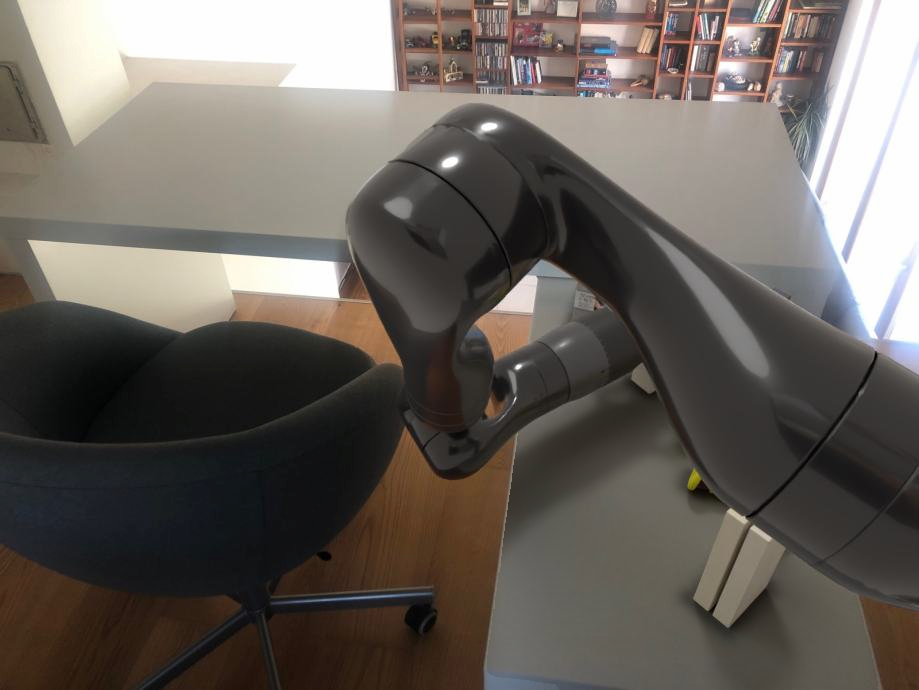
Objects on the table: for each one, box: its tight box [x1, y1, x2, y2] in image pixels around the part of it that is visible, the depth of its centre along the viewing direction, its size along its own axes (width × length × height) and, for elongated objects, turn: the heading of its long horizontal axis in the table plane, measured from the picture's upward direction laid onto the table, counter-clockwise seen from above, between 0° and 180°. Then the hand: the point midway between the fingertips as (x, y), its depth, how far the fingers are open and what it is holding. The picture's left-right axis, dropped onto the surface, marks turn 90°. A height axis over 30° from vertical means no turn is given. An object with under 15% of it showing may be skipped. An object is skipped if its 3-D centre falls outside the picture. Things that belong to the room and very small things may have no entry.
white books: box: [692, 507, 787, 629], centre depth 58 cm, size 4×6×13 cm, turn 130°
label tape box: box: [571, 281, 595, 321], centre depth 89 cm, size 9×4×12 cm, turn 159°
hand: (697, 299), depth 78 cm, fingers closed on thin white book, 3 cm apart
